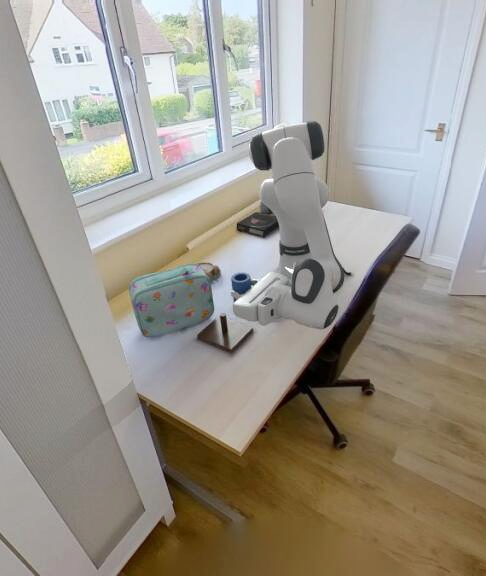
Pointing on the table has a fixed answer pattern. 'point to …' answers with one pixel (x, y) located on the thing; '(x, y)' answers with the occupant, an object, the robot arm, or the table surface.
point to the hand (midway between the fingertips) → (239, 287)
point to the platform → (225, 333)
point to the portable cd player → (258, 224)
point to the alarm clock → (210, 270)
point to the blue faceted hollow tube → (241, 283)
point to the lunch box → (171, 300)
